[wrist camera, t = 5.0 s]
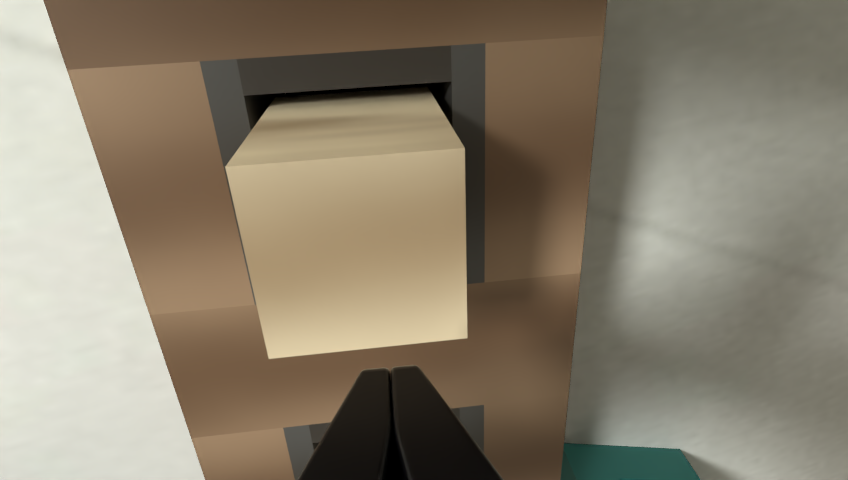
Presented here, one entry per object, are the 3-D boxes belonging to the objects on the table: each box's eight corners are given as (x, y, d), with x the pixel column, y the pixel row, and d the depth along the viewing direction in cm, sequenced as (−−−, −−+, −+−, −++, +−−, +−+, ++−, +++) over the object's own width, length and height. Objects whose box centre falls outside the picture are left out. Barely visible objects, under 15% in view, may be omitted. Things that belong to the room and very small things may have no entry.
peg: (433, 222, 16) (467, 337, 11) (298, 234, 16) (268, 359, 11) (427, 86, 14) (464, 147, 9) (275, 96, 14) (225, 166, 9)
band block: (513, 443, 27) (552, 560, 21) (270, 472, 26) (247, 603, 20) (533, -61, 17) (615, -80, 11) (139, -42, 16) (25, -52, 10)
